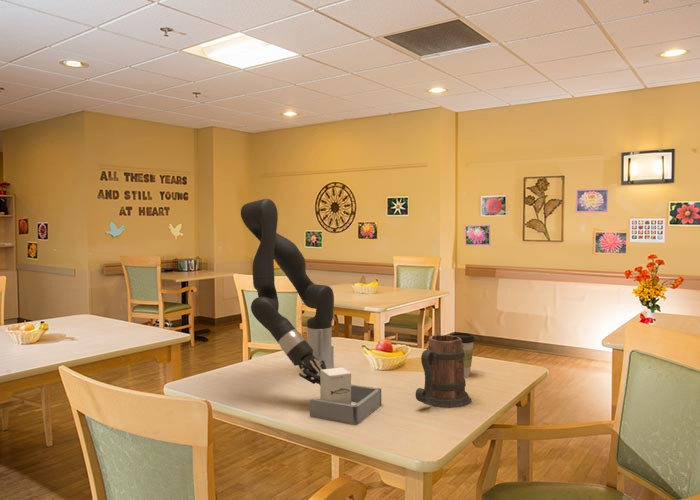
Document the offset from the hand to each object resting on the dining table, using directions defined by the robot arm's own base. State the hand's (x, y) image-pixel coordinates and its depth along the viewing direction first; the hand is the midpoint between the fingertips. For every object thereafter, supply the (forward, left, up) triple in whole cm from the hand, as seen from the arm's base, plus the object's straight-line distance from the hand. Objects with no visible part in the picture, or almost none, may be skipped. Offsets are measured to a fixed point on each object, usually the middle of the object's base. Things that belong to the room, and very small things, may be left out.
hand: (329, 390), depth 165 cm
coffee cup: (-59, -1, -5) cm, 59 cm away
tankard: (-32, +15, -6) cm, 36 cm away
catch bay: (-3, +4, -5) cm, 7 cm away
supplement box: (+1, +4, -5) cm, 7 cm away
